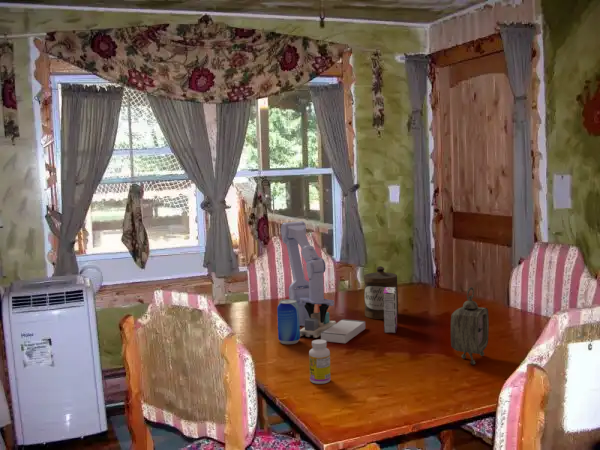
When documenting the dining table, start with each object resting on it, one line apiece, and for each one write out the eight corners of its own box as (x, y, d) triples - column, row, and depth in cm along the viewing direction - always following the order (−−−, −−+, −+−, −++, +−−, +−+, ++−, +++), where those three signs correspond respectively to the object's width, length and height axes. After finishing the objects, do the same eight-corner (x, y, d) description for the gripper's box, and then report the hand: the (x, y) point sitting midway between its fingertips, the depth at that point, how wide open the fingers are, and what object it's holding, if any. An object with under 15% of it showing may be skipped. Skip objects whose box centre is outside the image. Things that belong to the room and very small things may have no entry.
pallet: (298, 335, 248) (297, 318, 247) (318, 324, 265) (317, 307, 264) (316, 337, 244) (316, 320, 243) (335, 325, 261) (335, 309, 260)
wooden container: (360, 318, 274) (359, 268, 272) (369, 310, 288) (369, 263, 286) (393, 320, 269) (393, 270, 266) (401, 312, 282) (401, 264, 280)
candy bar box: (385, 325, 261) (384, 287, 259) (397, 326, 260) (396, 287, 258) (383, 333, 250) (382, 292, 248) (396, 333, 249) (395, 292, 247)
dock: (321, 340, 242) (320, 332, 241) (342, 326, 261) (342, 319, 261) (345, 343, 237) (344, 335, 237) (365, 328, 257) (365, 321, 257)
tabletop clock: (476, 367, 206) (476, 292, 203) (449, 363, 211) (449, 290, 208) (488, 355, 218) (488, 284, 215) (463, 351, 223) (462, 282, 220)
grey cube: (304, 329, 249) (304, 320, 248) (309, 327, 252) (308, 317, 252) (313, 330, 247) (313, 321, 246) (318, 328, 250) (317, 318, 250)
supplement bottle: (308, 378, 201) (307, 339, 199) (329, 376, 201) (328, 337, 200) (310, 385, 194) (309, 345, 193) (332, 384, 195) (331, 343, 193)
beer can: (303, 339, 244) (301, 299, 243) (295, 345, 236) (294, 304, 235) (282, 338, 247) (281, 298, 245) (275, 344, 239) (273, 303, 238)
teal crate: (316, 323, 258) (316, 313, 258) (320, 320, 262) (320, 311, 261) (325, 324, 257) (325, 314, 256) (329, 321, 260) (329, 312, 260)
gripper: (295, 289, 252) (296, 322, 254) (328, 292, 246) (329, 325, 247) (303, 286, 259) (304, 318, 260) (335, 288, 252) (336, 321, 254)
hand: (317, 321), depth 254 cm, fingers closed on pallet, 4 cm apart
